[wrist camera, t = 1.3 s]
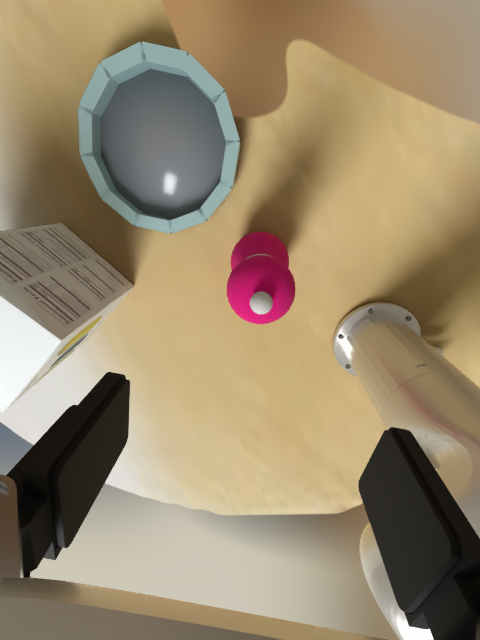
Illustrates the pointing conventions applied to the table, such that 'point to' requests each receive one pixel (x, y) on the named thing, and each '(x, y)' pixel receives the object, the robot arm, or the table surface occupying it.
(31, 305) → the supplement box
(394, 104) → the table surface
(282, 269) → the pepper mill
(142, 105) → the round tray
